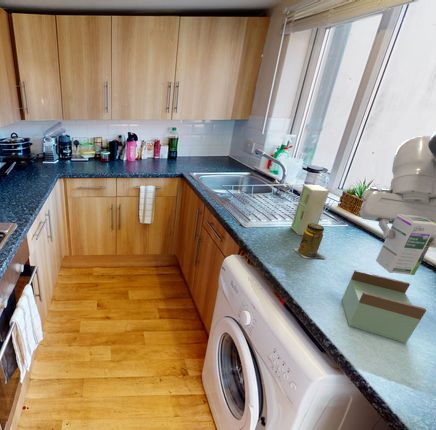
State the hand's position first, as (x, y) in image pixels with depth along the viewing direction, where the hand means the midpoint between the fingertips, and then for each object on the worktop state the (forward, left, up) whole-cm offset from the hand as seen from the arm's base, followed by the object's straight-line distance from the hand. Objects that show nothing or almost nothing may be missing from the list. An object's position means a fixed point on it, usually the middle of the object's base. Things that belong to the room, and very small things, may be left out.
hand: (408, 241), depth 72 cm
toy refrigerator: (+15, -50, -24) cm, 58 cm away
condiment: (+13, -30, -24) cm, 41 cm away
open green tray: (0, +2, -24) cm, 24 cm away
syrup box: (0, -1, -9) cm, 9 cm away
